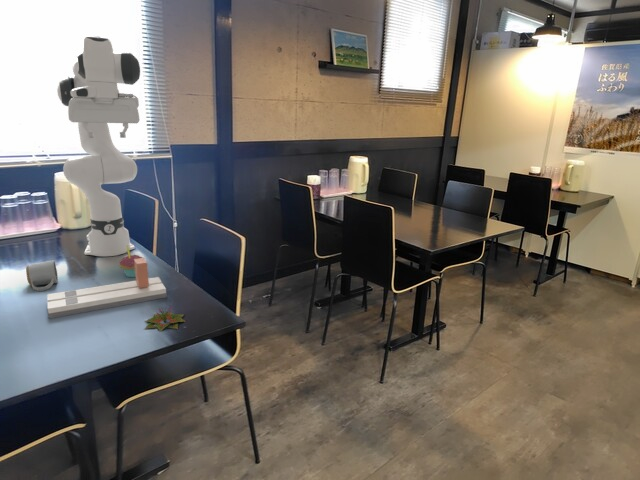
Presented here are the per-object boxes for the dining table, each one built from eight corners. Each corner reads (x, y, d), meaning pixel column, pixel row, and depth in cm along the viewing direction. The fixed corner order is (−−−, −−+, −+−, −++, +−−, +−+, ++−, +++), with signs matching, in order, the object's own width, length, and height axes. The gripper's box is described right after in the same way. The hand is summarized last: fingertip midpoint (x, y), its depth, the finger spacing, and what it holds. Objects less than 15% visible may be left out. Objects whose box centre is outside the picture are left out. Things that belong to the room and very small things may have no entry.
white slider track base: (48, 303, 130) (47, 294, 129) (159, 285, 146) (158, 276, 145) (49, 318, 121) (47, 308, 120) (166, 297, 137) (165, 288, 137)
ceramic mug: (30, 281, 145) (26, 260, 143) (58, 277, 149) (55, 257, 147) (27, 294, 136) (23, 271, 134) (57, 289, 140) (54, 267, 138)
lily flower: (150, 313, 127) (149, 299, 126) (191, 313, 128) (190, 299, 127) (136, 334, 116) (135, 318, 115) (182, 333, 117) (181, 318, 116)
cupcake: (136, 280, 149) (134, 247, 146) (115, 277, 151) (111, 245, 148) (151, 272, 158) (148, 240, 154) (130, 269, 159) (127, 238, 156)
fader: (136, 287, 140) (134, 259, 137) (146, 285, 141) (144, 257, 138) (139, 293, 136) (136, 263, 133) (149, 291, 137) (147, 262, 134)
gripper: (136, 94, 142) (139, 137, 146) (64, 90, 132) (70, 136, 136) (139, 94, 137) (143, 138, 141) (65, 90, 127) (71, 138, 131)
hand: (107, 137), depth 139 cm, fingers open, 8 cm apart
